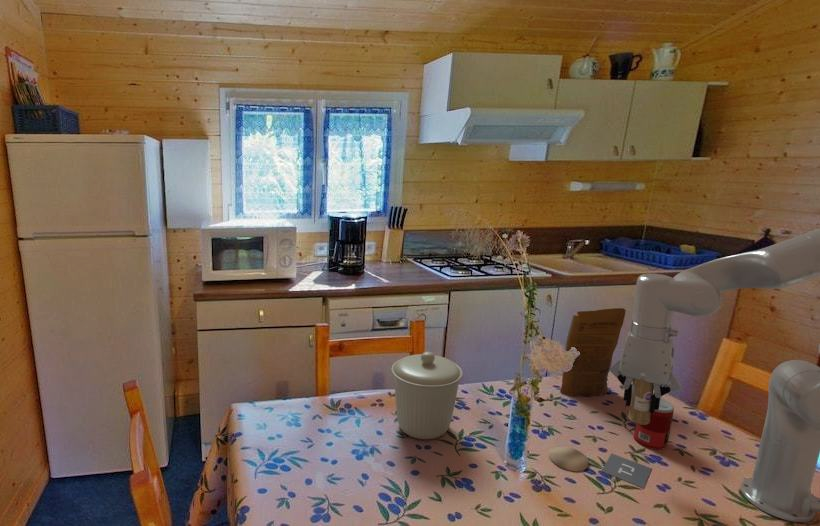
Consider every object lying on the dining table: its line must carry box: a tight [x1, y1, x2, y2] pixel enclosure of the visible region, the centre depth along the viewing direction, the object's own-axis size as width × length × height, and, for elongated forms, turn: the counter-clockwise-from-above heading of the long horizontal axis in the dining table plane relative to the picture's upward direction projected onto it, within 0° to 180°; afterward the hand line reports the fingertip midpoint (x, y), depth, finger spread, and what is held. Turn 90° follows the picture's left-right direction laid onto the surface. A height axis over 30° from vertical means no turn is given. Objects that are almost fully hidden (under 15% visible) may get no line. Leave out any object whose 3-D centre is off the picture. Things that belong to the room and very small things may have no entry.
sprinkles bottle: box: [627, 373, 654, 425], centre depth 105 cm, size 5×5×13 cm
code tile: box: [601, 452, 652, 489], centre depth 109 cm, size 9×9×1 cm
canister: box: [390, 351, 464, 440], centre depth 120 cm, size 18×18×21 cm
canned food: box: [633, 397, 675, 451], centre depth 120 cm, size 8×8×11 cm
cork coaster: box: [548, 445, 589, 472], centre depth 112 cm, size 9×9×1 cm
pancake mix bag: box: [559, 307, 626, 397], centre depth 143 cm, size 7×19×28 cm, turn 101°
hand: (640, 406), depth 106 cm, fingers closed on sprinkles bottle, 4 cm apart
